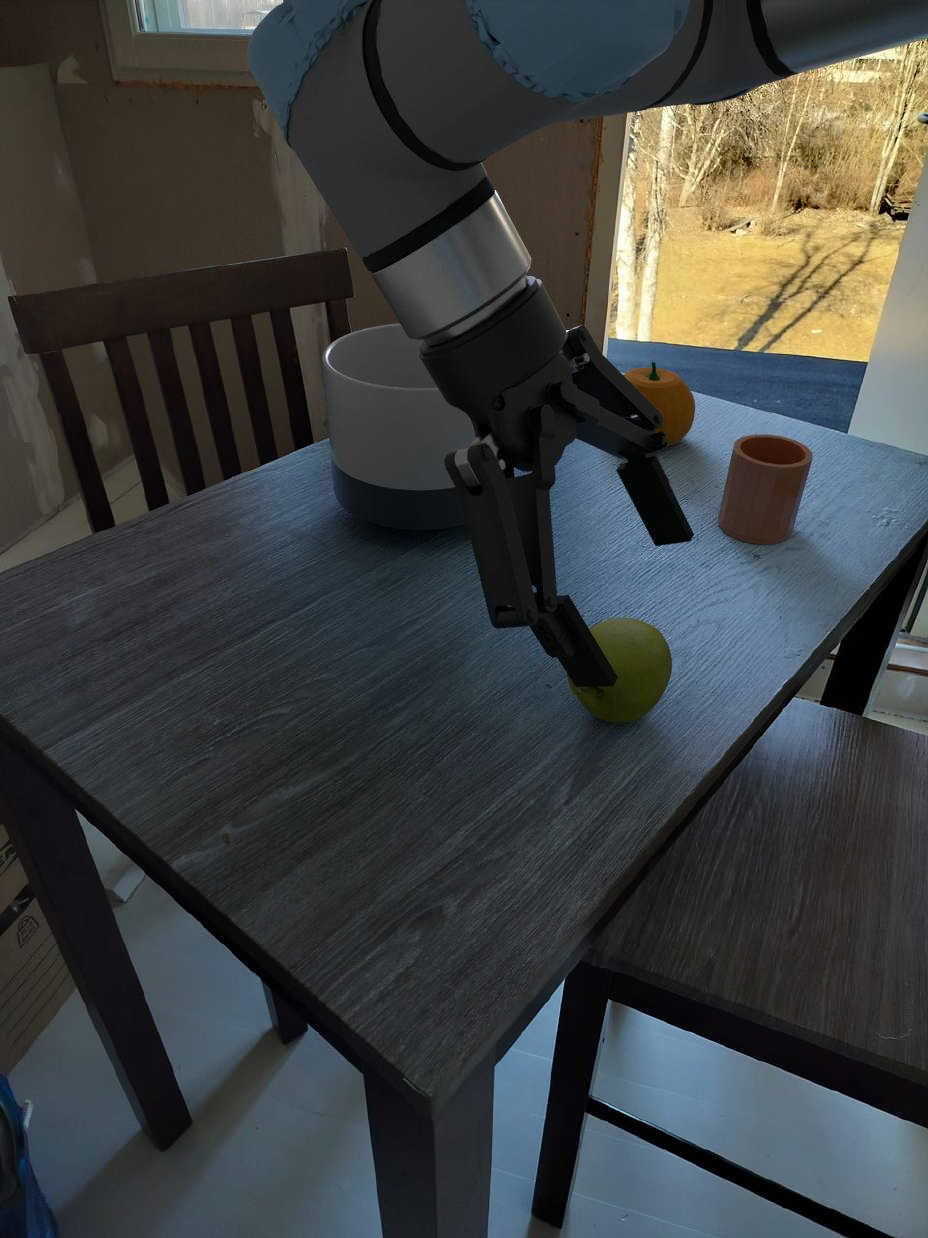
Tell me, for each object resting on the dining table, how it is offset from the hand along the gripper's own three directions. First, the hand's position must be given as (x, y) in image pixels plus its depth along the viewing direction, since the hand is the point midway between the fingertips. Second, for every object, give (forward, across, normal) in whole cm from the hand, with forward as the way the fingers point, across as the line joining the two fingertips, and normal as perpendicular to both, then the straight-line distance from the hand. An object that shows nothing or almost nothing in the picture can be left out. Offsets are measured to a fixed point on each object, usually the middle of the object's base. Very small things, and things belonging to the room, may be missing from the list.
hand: (638, 607), depth 55 cm
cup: (+21, -38, -11) cm, 44 cm away
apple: (+13, -3, -10) cm, 17 cm away
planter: (+2, -23, -39) cm, 45 cm away
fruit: (+15, -52, -29) cm, 62 cm away
